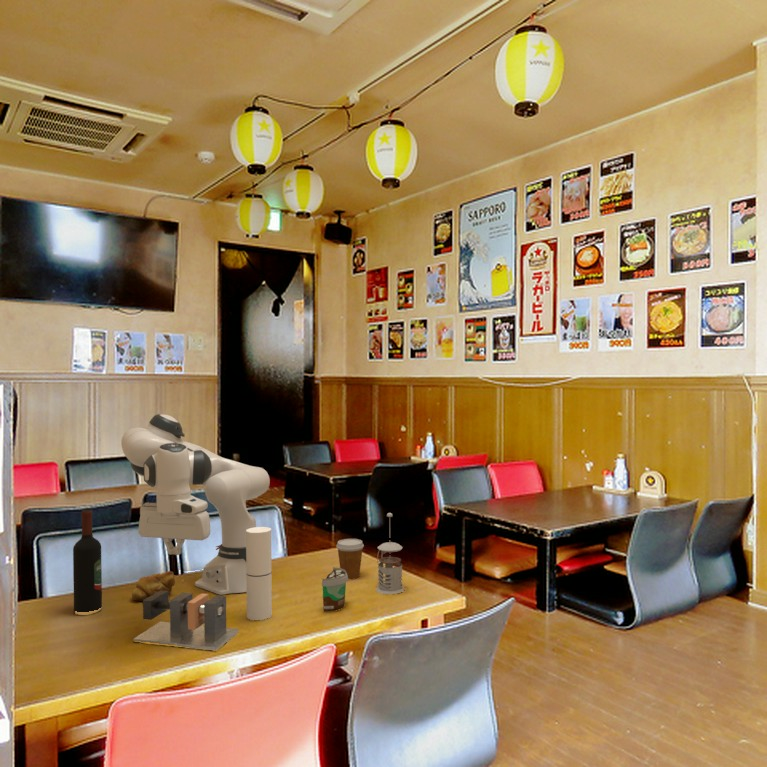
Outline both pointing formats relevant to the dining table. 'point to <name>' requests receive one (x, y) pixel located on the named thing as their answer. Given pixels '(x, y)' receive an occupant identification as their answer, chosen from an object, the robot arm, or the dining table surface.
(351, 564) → the disposable coffee cup
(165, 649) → the dining table surface
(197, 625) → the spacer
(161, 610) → the shaft
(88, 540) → the wine bottle
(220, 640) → the shaft frame
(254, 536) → the cylindrical container
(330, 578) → the food container
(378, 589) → the french press
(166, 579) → the bread roll
